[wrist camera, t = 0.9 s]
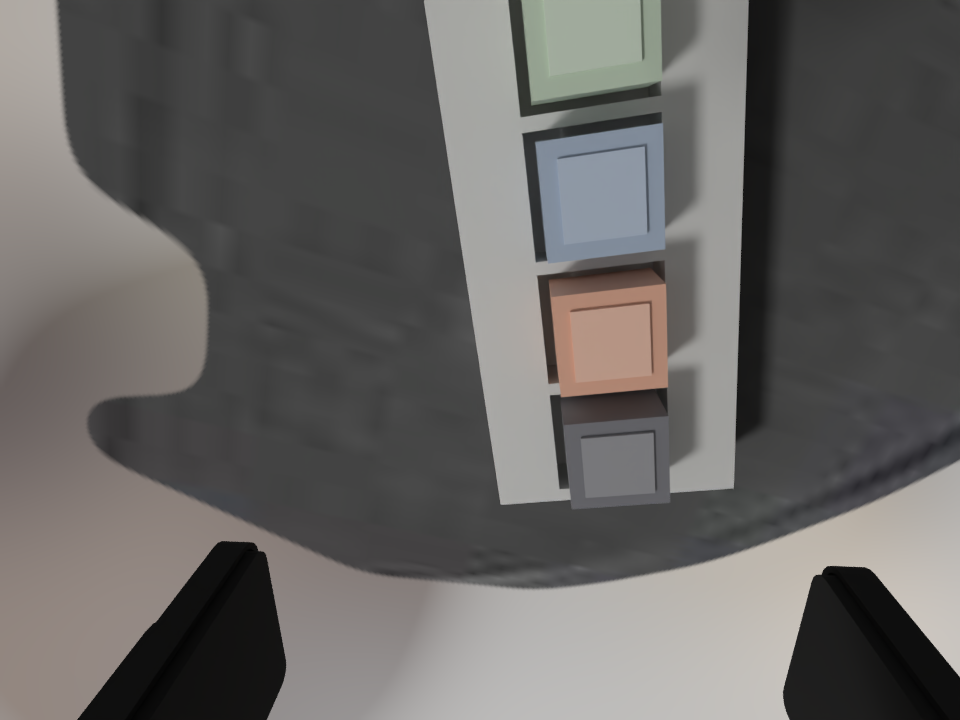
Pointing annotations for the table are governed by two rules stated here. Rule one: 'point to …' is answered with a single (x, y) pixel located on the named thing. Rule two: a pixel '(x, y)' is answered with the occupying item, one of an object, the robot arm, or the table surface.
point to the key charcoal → (616, 449)
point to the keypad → (526, 273)
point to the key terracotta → (610, 332)
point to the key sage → (591, 47)
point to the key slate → (602, 193)
